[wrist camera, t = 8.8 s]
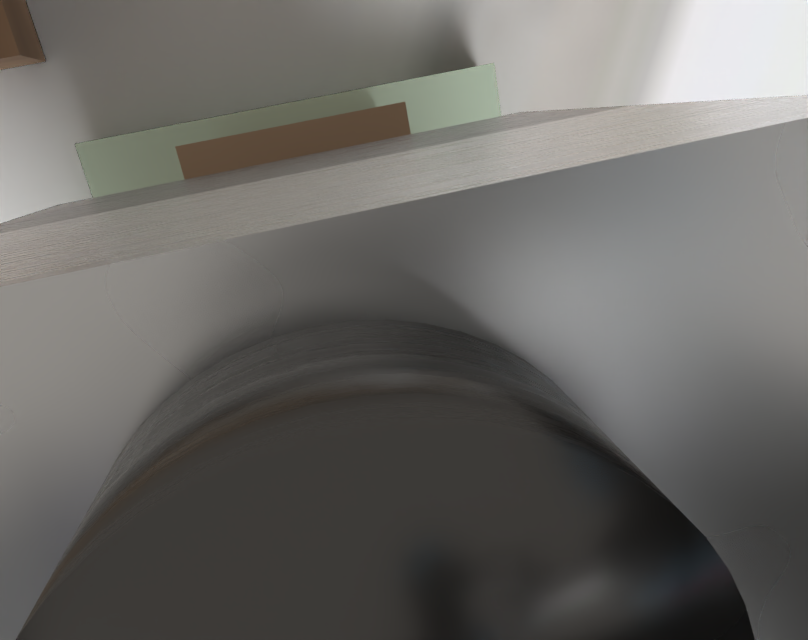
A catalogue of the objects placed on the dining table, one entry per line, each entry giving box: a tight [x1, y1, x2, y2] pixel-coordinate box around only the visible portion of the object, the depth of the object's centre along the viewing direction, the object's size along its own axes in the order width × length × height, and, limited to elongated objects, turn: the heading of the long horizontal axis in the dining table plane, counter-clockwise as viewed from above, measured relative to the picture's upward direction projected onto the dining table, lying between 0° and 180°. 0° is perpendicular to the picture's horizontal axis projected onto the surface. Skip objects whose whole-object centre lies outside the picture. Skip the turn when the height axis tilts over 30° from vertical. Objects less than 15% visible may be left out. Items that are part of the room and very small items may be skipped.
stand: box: [75, 63, 501, 198], centre depth 16 cm, size 10×13×6 cm
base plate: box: [0, 106, 626, 233], centre depth 10 cm, size 11×7×4 cm, turn 11°
